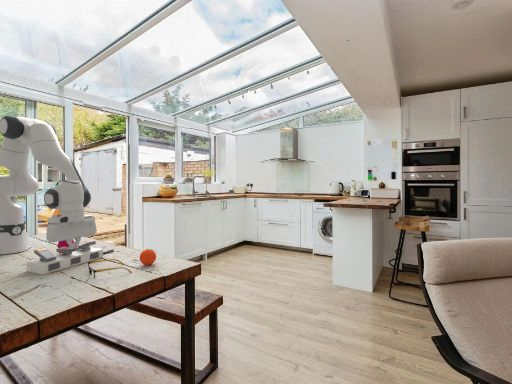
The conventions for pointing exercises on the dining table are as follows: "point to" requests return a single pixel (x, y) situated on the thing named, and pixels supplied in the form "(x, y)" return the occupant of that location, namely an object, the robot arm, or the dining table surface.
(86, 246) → the rocker
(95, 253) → the power strip
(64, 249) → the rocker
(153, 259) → the clementine
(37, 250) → the block
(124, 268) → the eyeglasses
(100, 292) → the dining table surface
